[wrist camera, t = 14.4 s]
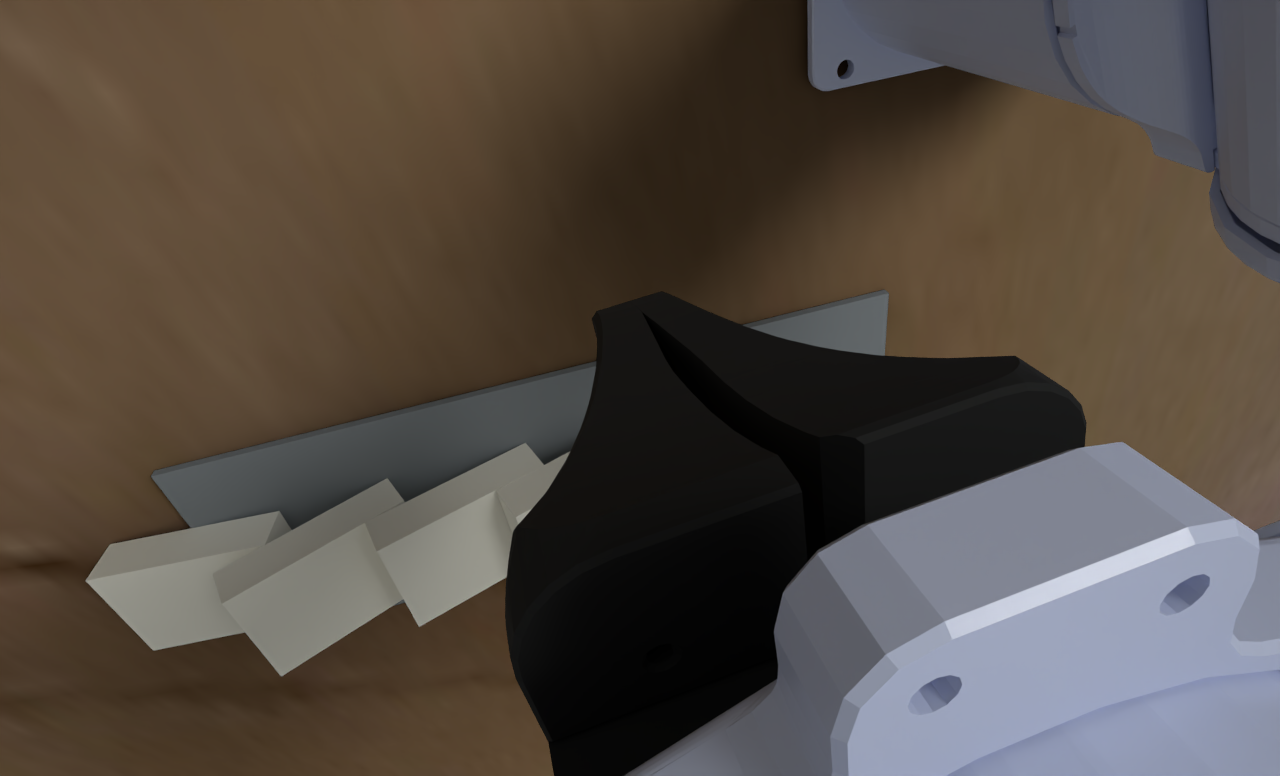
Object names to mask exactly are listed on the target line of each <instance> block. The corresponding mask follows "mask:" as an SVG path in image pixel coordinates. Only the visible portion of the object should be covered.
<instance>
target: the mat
mask: <svg viewBox="0 0 1280 776" xmlns="http://www.w3.org/2000/svg"><path fill="white" fill-rule="evenodd" d="M888 297H889V293H888V292H887V291H886V290H881V291H877V292H873V293H869V294H865V295H861V296H857V297H853V298H849V299H845V300H841V301H836V302H832V303H828V304H824V305H820V306H816V307H812V308H808V309H804V310H800V311H796V312H792V313H788V314H784V315H780V316H776V317H772V318H768V319H764V320H760V321H756V322H752V323H748V324H744V325H743V326H746V327H749V328H752V329H755V330H758V331H761V332H764V333H767V334H770V335H773V336H776V337H780V338H784V339H787V340H791V341H796V342H800V343H805V344H809V345H813V346H818V347H823V348H829V349H834V350H840V351H848V352H856V353H864V354H872V355H882V356H885V342H886V327H887V312H888ZM595 370H596V361H595V362H590V363H586V364H582V365H578V366H574V367H570V368H566V369H562V370H558V371H554V372H550V373H546V374H542V375H538V376H534V377H530V378H526V379H522V380H518V381H514V382H510V383H506V384H502V385H498V386H494V387H490V388H486V389H482V390H478V391H474V392H469V393H465V394H461V395H457V396H453V397H449V398H445V399H441V400H437V401H433V402H429V403H425V404H421V405H417V406H413V407H409V408H405V409H401V410H397V411H393V412H389V413H385V414H381V415H377V416H373V417H369V418H365V419H361V420H357V421H353V422H349V423H344V424H340V425H336V426H332V427H328V428H324V429H320V430H316V431H312V432H308V433H304V434H300V435H296V436H292V437H288V438H284V439H280V440H276V441H272V442H268V443H264V444H260V445H256V446H252V447H248V448H244V449H240V450H236V451H232V452H228V453H224V454H219V455H215V456H211V457H207V458H203V459H199V460H195V461H191V462H187V463H183V464H179V465H175V466H171V467H167V468H163V469H159V470H155V471H154V472H153V474H152V475H151V477H152V479H153V480H154V481H155V483H156V484H157V485H158V486H159V488H160V489H161V490H162V492H163V493H164V494H165V495H166V497H167V498H168V499H169V501H170V502H171V503H172V504H173V506H174V507H175V508H176V510H177V511H178V512H179V513H180V515H181V516H182V517H183V519H184V520H185V521H186V522H187V524H188V525H189V526H190V528H195V527H200V526H205V525H210V524H216V523H221V522H226V521H231V520H236V519H241V518H246V517H251V516H256V515H261V514H266V513H271V512H276V511H280V513H281V514H282V516H283V517H284V519H285V520H286V522H287V524H288V525H289V527H290V528H291V530H293V529H295V528H297V527H299V526H301V525H302V524H304V523H306V522H308V521H310V520H312V519H313V518H315V517H317V516H319V515H321V514H323V513H324V512H326V511H328V510H330V509H332V508H334V507H335V506H337V505H339V504H341V503H343V502H345V501H346V500H348V499H350V498H352V497H354V496H355V495H357V494H359V493H361V492H363V491H365V490H366V489H368V488H370V487H372V486H374V485H376V484H377V483H379V482H381V481H383V480H385V479H387V478H388V479H389V481H390V482H391V484H392V485H393V486H394V488H395V489H396V490H397V492H398V493H399V494H400V496H401V497H402V498H403V500H404V502H407V501H409V500H411V499H413V498H415V497H417V496H419V495H421V494H423V493H425V492H427V491H429V490H431V489H433V488H435V487H437V486H439V485H441V484H443V483H445V482H447V481H449V480H451V479H453V478H455V477H457V476H459V475H461V474H463V473H465V472H467V471H469V470H471V469H473V468H475V467H477V466H479V465H481V464H483V463H485V462H487V461H490V460H492V459H494V458H496V457H498V456H500V455H502V454H504V453H506V452H508V451H510V450H512V449H514V448H516V447H518V446H520V445H522V444H524V443H526V444H527V445H528V446H529V447H530V449H531V450H532V451H533V452H534V453H535V455H536V456H537V457H538V458H539V459H540V461H541V462H542V463H543V464H544V465H545V464H547V463H549V462H551V461H553V460H555V459H557V458H558V457H560V456H562V455H564V454H566V453H568V452H570V451H571V449H572V447H573V445H574V442H575V440H576V438H577V435H578V433H579V431H580V428H581V426H582V423H583V420H584V417H585V414H586V411H587V408H588V404H589V400H590V396H591V392H592V387H593V381H594V376H595ZM402 603H405V601H404V599H403V600H401V601H400V602H398V603H397V604H395V605H398V604H402ZM393 606H394V605H393Z"/></svg>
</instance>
